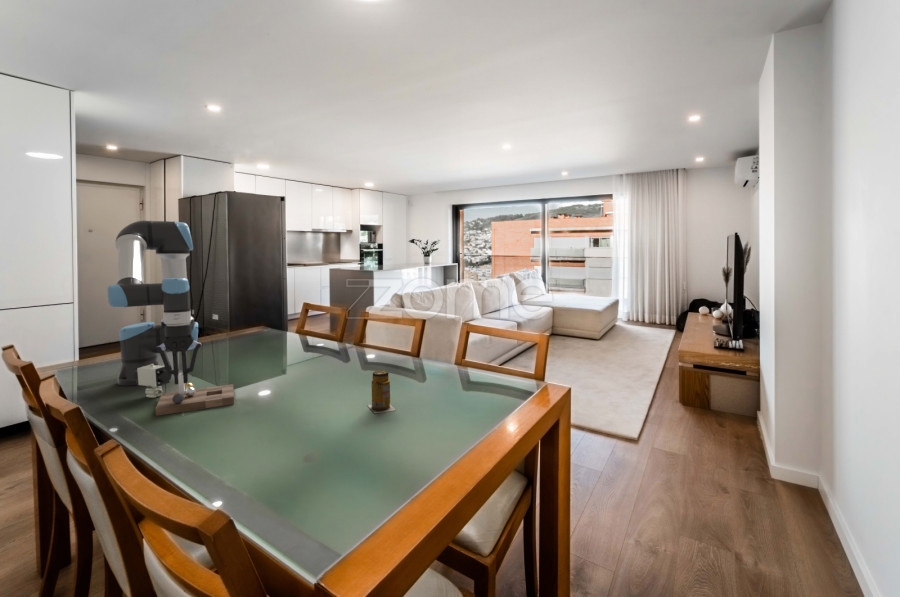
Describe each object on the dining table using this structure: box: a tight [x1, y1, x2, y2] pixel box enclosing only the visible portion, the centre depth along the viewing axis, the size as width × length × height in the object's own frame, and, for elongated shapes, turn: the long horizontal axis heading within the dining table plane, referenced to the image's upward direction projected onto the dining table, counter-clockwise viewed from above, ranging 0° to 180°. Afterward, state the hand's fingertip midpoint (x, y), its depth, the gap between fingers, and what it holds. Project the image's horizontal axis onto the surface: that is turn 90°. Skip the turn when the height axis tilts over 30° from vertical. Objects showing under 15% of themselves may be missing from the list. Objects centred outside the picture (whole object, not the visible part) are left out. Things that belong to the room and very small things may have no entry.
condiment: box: [367, 369, 396, 414], centre depth 136 cm, size 7×8×12 cm
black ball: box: [172, 393, 184, 403], centre depth 134 cm, size 3×3×3 cm
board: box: [155, 383, 235, 417], centre depth 142 cm, size 16×22×2 cm
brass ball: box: [185, 382, 195, 390], centre depth 146 cm, size 3×3×3 cm
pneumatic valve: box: [134, 364, 173, 399], centre depth 148 cm, size 6×12×12 cm, turn 78°
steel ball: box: [185, 387, 196, 397], centre depth 141 cm, size 3×3×3 cm
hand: (182, 392), depth 139 cm, fingers closed
